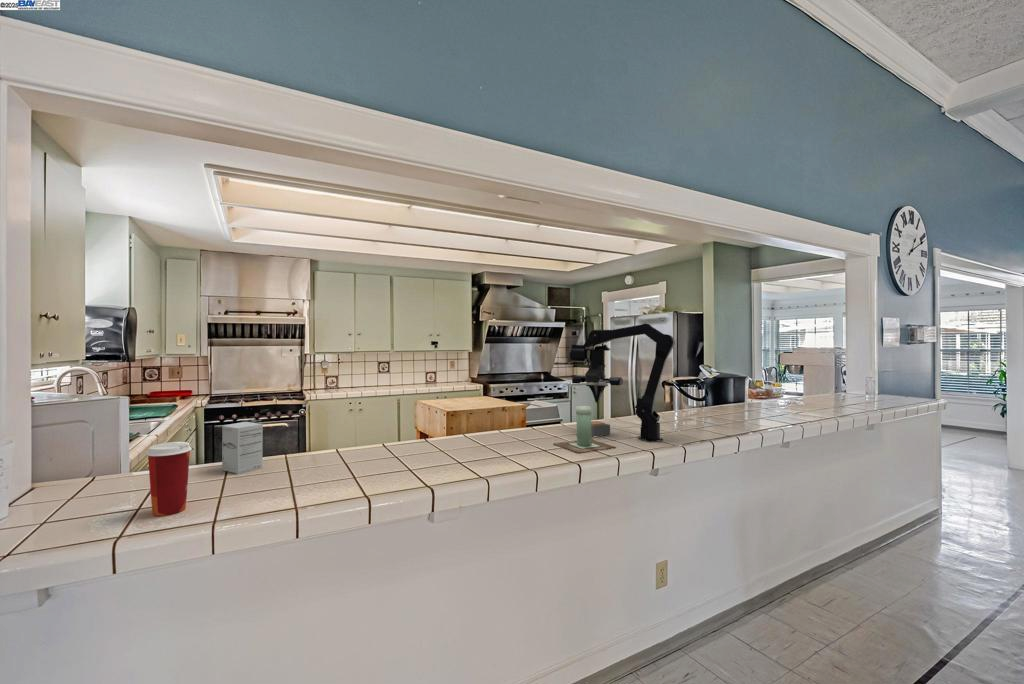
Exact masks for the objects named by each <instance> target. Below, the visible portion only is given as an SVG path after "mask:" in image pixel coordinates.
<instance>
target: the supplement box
mask: <svg viewBox="0 0 1024 684" xmlns="http://www.w3.org/2000/svg"><path fill="white" fill-rule="evenodd" d="M263 427H264V425H263V423H258V422H257V423H256V422H251V421H250V422H249V421H241V422H236V423H230V424H224V425H222V437H221V438H222V439H221V440H222V443H221V444H222V445H221V448H222V449H221V455H222V457H221V458H222V459H221V460H222V461H221V462H222V463H221V470H222V471H226V472H229V473H233V474H237V475H240V474H244V473H247V472H251V471H255V470H259V468H260V469H262V468H263V433H264V432H263V431H264V429H263Z"/></svg>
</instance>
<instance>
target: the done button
mask: <svg viewBox="0 0 1024 684" xmlns="http://www.w3.org/2000/svg"><path fill="white" fill-rule="evenodd" d="M605 424H606V423H605V422H602V421H600V420H599V421H598V420H591V425H593V426H597V425H605Z"/></svg>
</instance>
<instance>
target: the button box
mask: <svg viewBox="0 0 1024 684" xmlns="http://www.w3.org/2000/svg"><path fill="white" fill-rule="evenodd" d="M601 435H607V436H611V424H609V423H605V425H597V426H593V425H591V436H599V437H602V436H601Z"/></svg>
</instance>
